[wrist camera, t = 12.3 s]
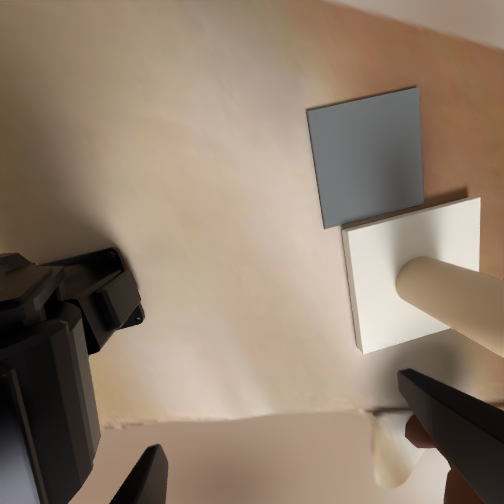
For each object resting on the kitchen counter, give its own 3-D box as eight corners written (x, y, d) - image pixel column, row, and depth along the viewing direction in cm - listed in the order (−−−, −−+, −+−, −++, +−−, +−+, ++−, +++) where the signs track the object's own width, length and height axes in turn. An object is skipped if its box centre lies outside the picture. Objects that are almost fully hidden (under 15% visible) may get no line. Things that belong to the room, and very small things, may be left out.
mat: (324, 228, 20) (325, 228, 20) (306, 112, 17) (307, 111, 17) (421, 203, 20) (423, 203, 20) (417, 88, 18) (419, 86, 18)
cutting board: (357, 347, 23) (363, 354, 22) (341, 230, 20) (347, 231, 19) (467, 315, 24) (477, 320, 23) (468, 197, 21) (480, 197, 20)
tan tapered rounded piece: (397, 308, 21) (608, 443, 10) (393, 263, 20) (629, 357, 9) (441, 295, 22) (696, 411, 10) (440, 250, 20) (727, 323, 9)
